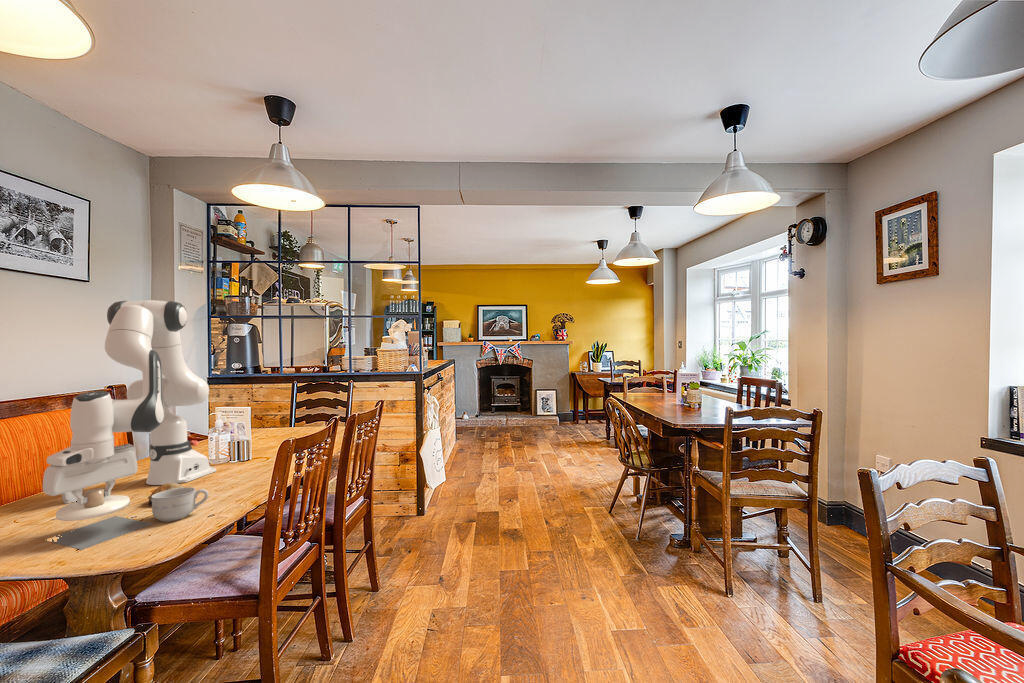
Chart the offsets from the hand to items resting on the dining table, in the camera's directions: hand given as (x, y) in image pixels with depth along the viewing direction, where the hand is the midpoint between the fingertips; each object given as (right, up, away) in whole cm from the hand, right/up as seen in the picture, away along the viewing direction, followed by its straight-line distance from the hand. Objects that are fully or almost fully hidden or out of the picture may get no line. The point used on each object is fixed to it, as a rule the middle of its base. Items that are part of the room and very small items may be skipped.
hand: (94, 500), depth 125 cm
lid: (0, -3, 0) cm, 2 cm away
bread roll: (+2, -9, +24) cm, 26 cm away
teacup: (+16, -9, +11) cm, 21 cm away
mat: (+1, -9, 0) cm, 9 cm away
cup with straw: (-30, -9, +25) cm, 40 cm away
